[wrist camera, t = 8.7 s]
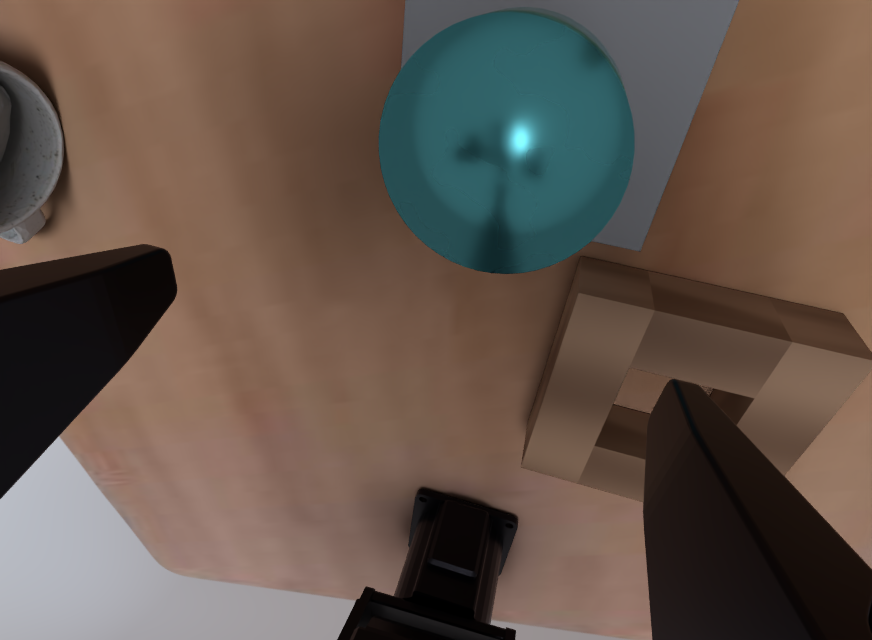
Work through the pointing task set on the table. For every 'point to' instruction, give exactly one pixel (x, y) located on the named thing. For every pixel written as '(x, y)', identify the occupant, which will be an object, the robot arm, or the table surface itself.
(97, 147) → the table surface
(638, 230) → the slate mat
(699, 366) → the eye block
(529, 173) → the teal topped white bottle
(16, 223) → the ceramic mug
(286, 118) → the table surface
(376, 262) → the table surface
